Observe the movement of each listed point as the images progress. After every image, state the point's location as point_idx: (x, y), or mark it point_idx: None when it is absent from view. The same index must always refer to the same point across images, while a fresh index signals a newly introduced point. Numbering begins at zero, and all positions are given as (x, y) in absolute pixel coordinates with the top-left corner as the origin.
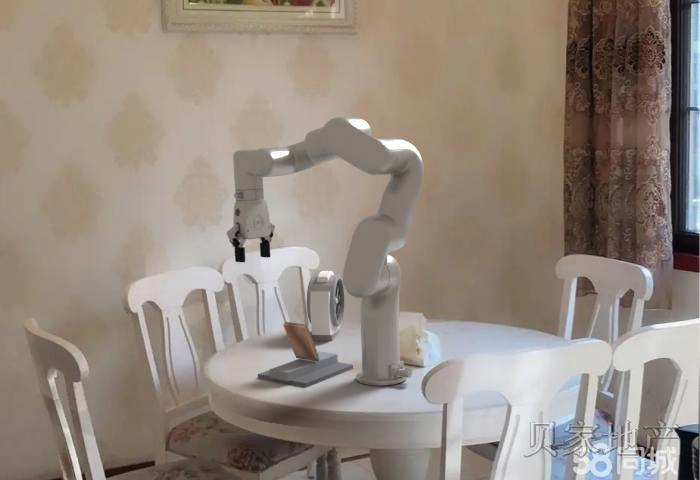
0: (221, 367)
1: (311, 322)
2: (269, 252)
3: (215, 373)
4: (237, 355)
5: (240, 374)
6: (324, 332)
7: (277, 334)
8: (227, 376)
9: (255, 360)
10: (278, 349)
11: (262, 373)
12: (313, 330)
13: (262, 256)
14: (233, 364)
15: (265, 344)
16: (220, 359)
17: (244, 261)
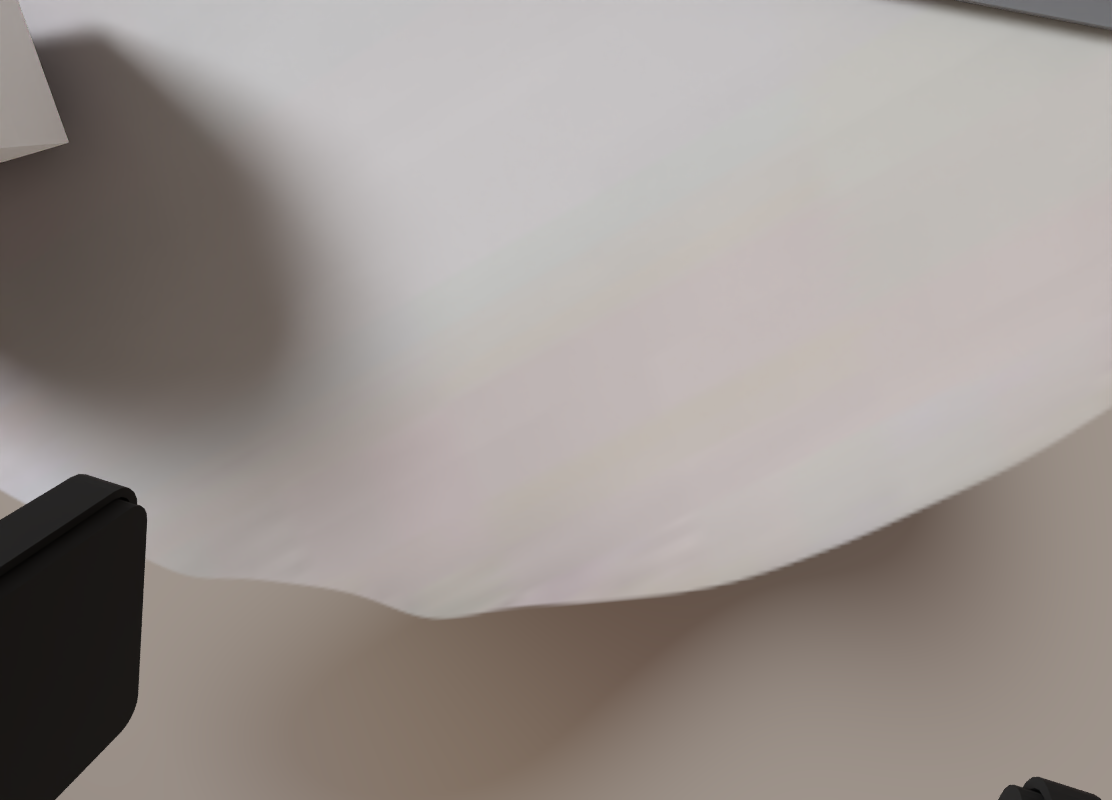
0: (880, 441)
1: (8, 142)
2: (26, 531)
3: (1041, 408)
4: (570, 477)
5: (1033, 221)
6: (20, 39)
7: (42, 465)
8: (1106, 287)
9: (649, 301)
10: (344, 284)
11: (1097, 2)
12: (44, 128)
13: (133, 669)
14: (787, 398)
15: (271, 428)
16: (692, 537)
17: (1074, 788)
